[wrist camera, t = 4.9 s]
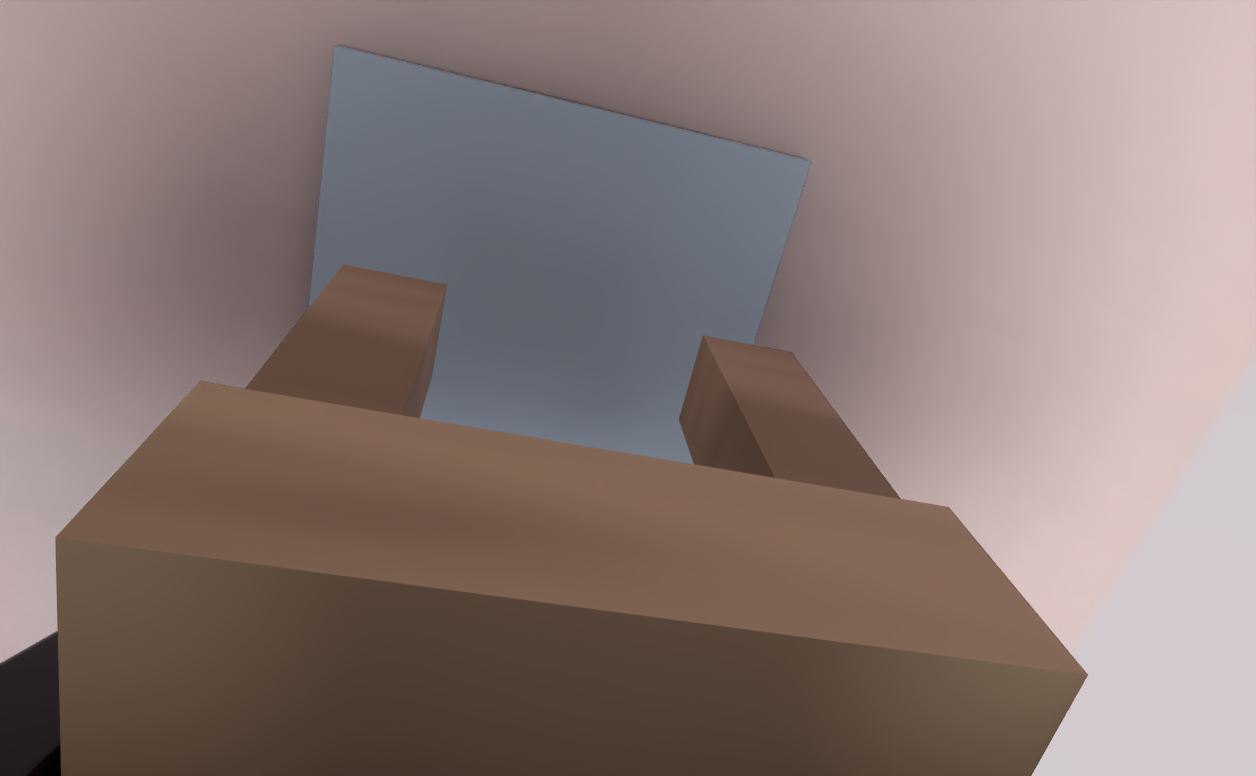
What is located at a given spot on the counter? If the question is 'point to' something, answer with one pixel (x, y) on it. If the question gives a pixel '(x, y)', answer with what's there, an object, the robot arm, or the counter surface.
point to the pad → (551, 246)
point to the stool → (529, 587)
